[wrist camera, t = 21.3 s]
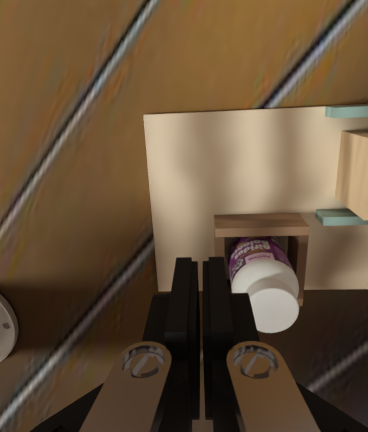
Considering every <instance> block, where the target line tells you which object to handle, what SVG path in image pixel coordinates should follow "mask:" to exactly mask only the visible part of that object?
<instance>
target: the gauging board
mask: <svg viewBox="0 0 368 432" xmlns="http://www.w3.org/2000/svg"><path fill="white" fill-rule="evenodd" d="M143 117H144V128H145V140H146V152H147V163H148V175H149V187H150V198H151V210H152V222H153V233H154V245H155V257H156V268H157V280H158V292H160V291H171V288H172V281H173V275H174V269H175V262H176V257H192V261H198V281H199V291H203V261H209V257H215V252H214V215H228V214H266V213H299V214H300V215H301V216H302V218H303V219H304V220H305V221H306V223H307V224H308V225H309V226H310V227H309V239H308V250H307V261H306V273H305V284H304V290H327V289H368V220H363V219H361V218H360V217H359V216H358V215H356V214H355V213H354V212H353V211H351V210H350V209H349V208H348V207H346V206H345V205H344V204H343V203H341V202H340V201H339V200H338V199H336V198H335V189H336V180H337V171H338V161H339V152H340V143H341V133H342V131H347V130H368V104H358V105H337V106H315V107H294V108H272V109H251V110H229V111H208V112H186V113H165V114H145V115H143ZM275 237H276V238H277V240H278V241H279V243H280V244H281V246H282V248H283V250H284V252H285V254H286V256H287V250H288V236H275ZM234 238H235V237H224V244H225V270H226V277H227V280H230V274H229V267H228V257H227V253H228V248H229V245H230V244H231V242H232V240H233V239H234Z"/></svg>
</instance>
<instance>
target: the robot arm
mask: <svg viewBox="0 0 368 432" xmlns="http://www.w3.org/2000/svg"><path fill="white" fill-rule="evenodd" d="M17 338H18V323H17V318H16V316H15V314H14V311H13V309H12V308H11V306H10V305H9V303H8V302H7V301H6V300H5V298H4V297H3V296H2V295H1V294H0V362H1V361H2V360H4V359H5V358H6V357H7V356H8V354H9V353H10V352H11V351H12V349H13V348H14V346H15V344H16V342H17ZM203 361H204V390H205V418H206V420H213V429H214V432H368V428H367V427H366V426H364V425H363V424H361V423H359V422H358V421H356V420H355V419H353V418H352V417H350V416H348V415H347V414H345V413H344V412H342V411H341V410H339V409H337V408H336V407H334V406H333V405H331V404H330V403H328V402H326V401H325V400H323V399H322V398H320V397H319V396H317V395H315V394H314V393H312V392H311V391H309V390H308V389H306V388H305V387H303V386H301V385H300V384H298V383H297V382H295V381H294V379H293V377H292V375H291V373H290V371H289V369H288V367H287V365H286V363H285V361H284V359H283V357H282V356H281V354H280V353H279V352H278V351H277V350H276V349H274V348H273V347H272V346H270V345H267V344H265V343H262V342H260V341H259V337H258V332H257V328H256V324H255V319H254V315H253V310H252V306H251V302H250V297H249V294H248V293H228V285H227V277H226V270H225V262H224V257H209V261H203ZM199 417H200V308H199V281H198V261H192V257H176V262H175V269H174V275H173V281H172V288H171V294H154V295H153V298H152V302H151V306H150V310H149V314H148V318H147V322H146V327H145V331H144V335H143V339H142V342H139V343H135V344H133V345H131V346H129V347H127V348H126V349H125V350H123V351H122V352H121V353H120V355H119V356H118V358H117V359H116V361H115V363H114V365H113V367H112V369H111V371H110V373H109V375H108V377H107V379H106V381H105V382H104V383H103V384H101V385H100V386H98V387H97V388H95V389H94V390H92V391H90V392H89V393H87V394H86V395H84V396H83V397H81V398H79V399H78V400H76V401H75V402H73V403H72V404H70V405H69V406H67V407H65V408H64V409H62V410H61V411H59V412H58V413H56V414H55V415H53V416H51V417H50V418H48V419H47V420H45V421H44V422H42V423H41V424H39V425H38V426H36V427H35V428H34V429H33V430H31V431H30V432H192V420H199Z"/></svg>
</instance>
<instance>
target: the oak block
mask: <svg viewBox="0 0 368 432" xmlns="http://www.w3.org/2000/svg"><path fill="white" fill-rule="evenodd" d="M335 198H336V199H338V200H339V201H340V202H341V203H343V204H344V205H345V206H346V207H348V208H349V209H350V210H351V211H353V212H354V213H355V214H356V215H358V216H359V217H360V218H361V219H363V220H368V130H347V131H342V133H341V143H340V152H339V161H338V171H337V180H336V189H335Z"/></svg>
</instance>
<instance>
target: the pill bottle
mask: <svg viewBox="0 0 368 432" xmlns="http://www.w3.org/2000/svg"><path fill="white" fill-rule="evenodd" d="M227 257H228V267H229V274H230V281H231V290H232V293H248V294H249V297H250V302H251V306H252V310H253V315H254V319H255V324H256V328H257V330H258V331H261V332H265V333H276V332H280V331H283V330H285V329H287V328H289V327H290V326H291V325H292V324H293V323H294V322H295V321H296V319H297V317H298V314H299V305H298V302H297V297H298V293H299V284H298V280H297V277H296V275H295V273H294V271H293V268H292V267H291V264H290V262H289V261H288V258H287V256H286V254H285V252H284V250H283V248H282V246H281V244H280V243H279V241H278V240H277V238H276V237H275V236H250V237H235V238H234V239H233V240H232V242H231V244H230V245H229V248H228V253H227Z"/></svg>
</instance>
